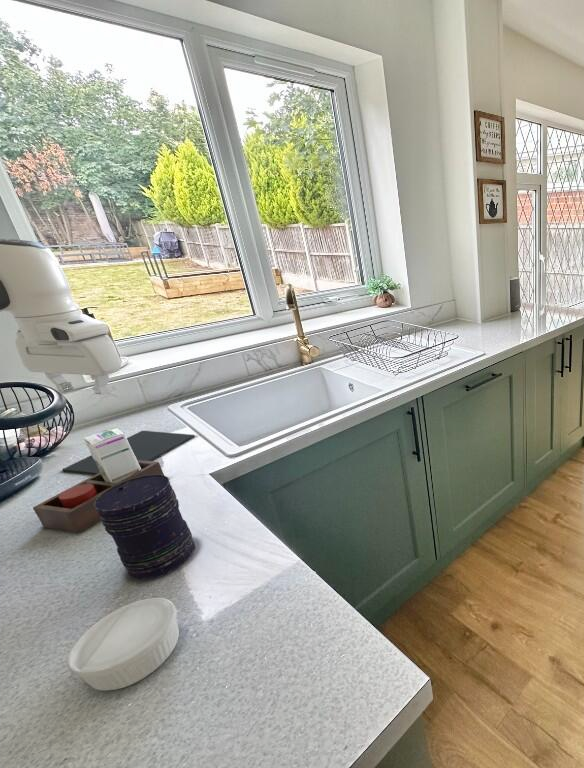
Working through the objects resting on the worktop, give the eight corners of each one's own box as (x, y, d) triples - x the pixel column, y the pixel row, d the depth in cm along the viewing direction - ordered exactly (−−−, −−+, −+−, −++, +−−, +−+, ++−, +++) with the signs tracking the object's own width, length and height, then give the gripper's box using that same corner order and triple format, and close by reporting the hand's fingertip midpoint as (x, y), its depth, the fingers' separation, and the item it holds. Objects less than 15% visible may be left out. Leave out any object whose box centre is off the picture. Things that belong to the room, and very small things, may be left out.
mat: (63, 471, 103) (62, 469, 103) (142, 432, 121) (142, 430, 121) (121, 477, 100) (120, 475, 99) (194, 436, 118) (194, 435, 118)
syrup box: (150, 486, 96) (126, 432, 90) (117, 501, 91) (90, 444, 86) (140, 479, 99) (116, 425, 93) (108, 492, 94) (81, 437, 89)
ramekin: (83, 657, 58) (67, 632, 56) (180, 608, 66) (168, 583, 64) (84, 721, 51) (65, 693, 49) (193, 657, 58) (181, 631, 56)
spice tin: (64, 521, 85) (51, 497, 83) (92, 505, 90) (80, 482, 88) (84, 524, 84) (71, 500, 82) (111, 507, 89) (100, 484, 87)
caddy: (43, 527, 84) (32, 507, 82) (133, 476, 100) (125, 458, 98) (80, 532, 82) (69, 512, 80) (166, 479, 98) (158, 461, 97)
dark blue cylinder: (209, 544, 78) (183, 478, 73) (155, 586, 70) (121, 515, 64) (170, 535, 81) (142, 470, 75) (113, 574, 72) (77, 505, 66)
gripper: (-7, 330, 79) (27, 395, 84) (77, 332, 75) (107, 401, 81) (33, 322, 85) (63, 384, 90) (113, 324, 81) (139, 388, 86)
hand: (84, 392), depth 85 cm, fingers open, 8 cm apart
